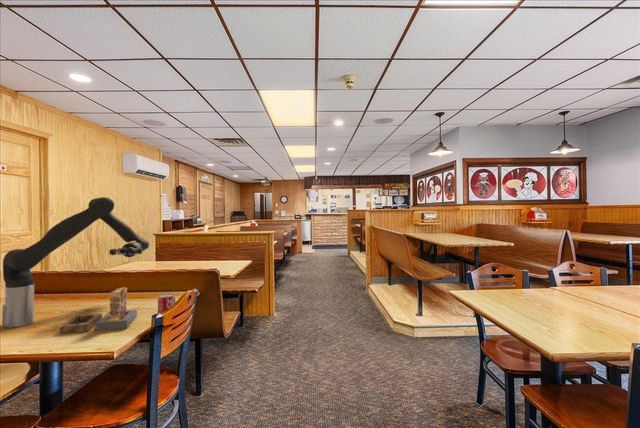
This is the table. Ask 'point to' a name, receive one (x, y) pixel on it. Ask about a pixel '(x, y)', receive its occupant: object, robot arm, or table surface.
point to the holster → (75, 327)
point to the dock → (116, 321)
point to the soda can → (165, 302)
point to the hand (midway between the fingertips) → (122, 252)
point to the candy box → (118, 303)
